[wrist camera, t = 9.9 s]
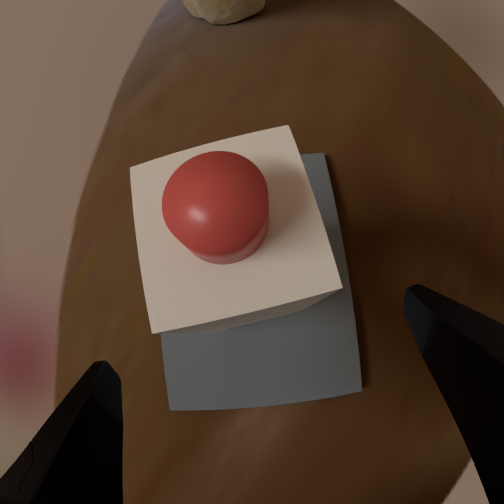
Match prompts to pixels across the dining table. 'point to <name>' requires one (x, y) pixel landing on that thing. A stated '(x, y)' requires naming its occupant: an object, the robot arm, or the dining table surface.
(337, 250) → the placemat
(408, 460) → the dining table surface
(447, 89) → the dining table surface
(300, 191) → the big red button box
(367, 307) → the dining table surface
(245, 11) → the food model
